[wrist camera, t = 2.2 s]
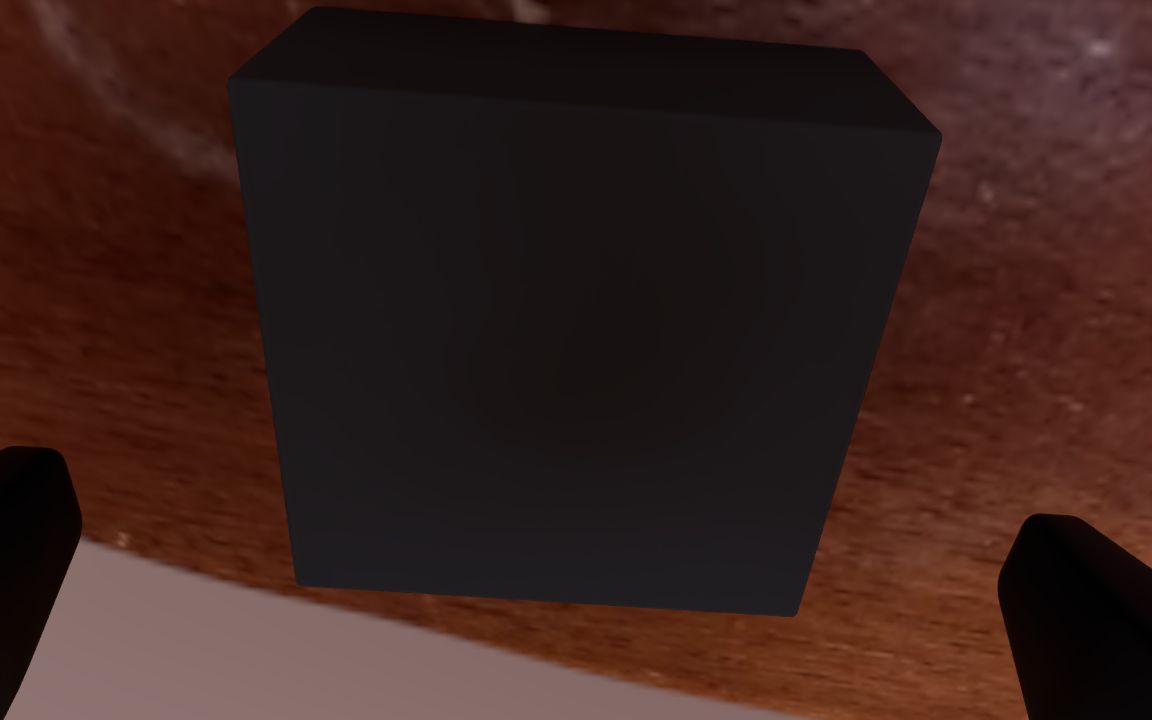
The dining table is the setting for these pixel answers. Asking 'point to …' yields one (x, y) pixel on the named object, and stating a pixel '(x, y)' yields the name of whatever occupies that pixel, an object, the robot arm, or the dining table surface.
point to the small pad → (568, 301)
